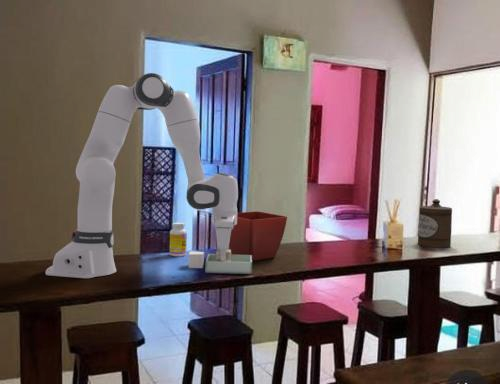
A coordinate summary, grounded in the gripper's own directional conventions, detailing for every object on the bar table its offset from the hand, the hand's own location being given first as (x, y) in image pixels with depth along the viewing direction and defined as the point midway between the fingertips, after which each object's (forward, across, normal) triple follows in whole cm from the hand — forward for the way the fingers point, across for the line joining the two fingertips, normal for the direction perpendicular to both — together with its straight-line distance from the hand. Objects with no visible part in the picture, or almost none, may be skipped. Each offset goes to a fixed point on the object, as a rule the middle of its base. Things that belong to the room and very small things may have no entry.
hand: (223, 257), depth 188 cm
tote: (+4, 0, +2) cm, 5 cm away
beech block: (+4, 0, 0) cm, 4 cm away
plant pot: (+4, -23, +11) cm, 26 cm away
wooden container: (+4, -63, +98) cm, 117 cm away
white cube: (+4, -3, -10) cm, 11 cm away
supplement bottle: (+4, -22, -19) cm, 29 cm away
